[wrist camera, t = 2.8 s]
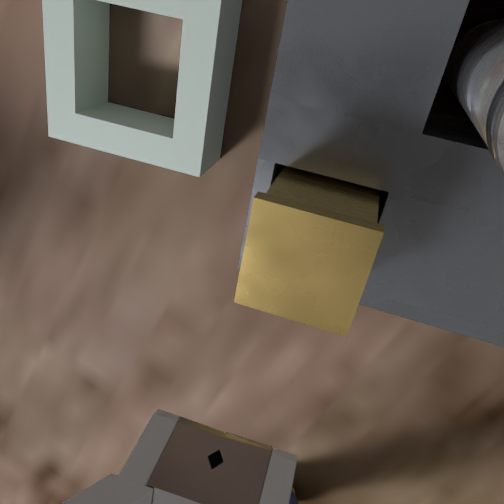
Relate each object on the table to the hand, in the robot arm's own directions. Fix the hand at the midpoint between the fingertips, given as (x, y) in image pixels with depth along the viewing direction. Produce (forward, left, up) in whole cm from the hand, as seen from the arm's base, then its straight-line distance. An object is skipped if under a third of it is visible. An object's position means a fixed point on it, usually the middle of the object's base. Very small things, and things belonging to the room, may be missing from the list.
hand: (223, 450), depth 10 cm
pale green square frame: (+10, -4, -17) cm, 20 cm away
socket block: (-3, -4, -17) cm, 17 cm away
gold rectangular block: (0, 0, -14) cm, 14 cm away
